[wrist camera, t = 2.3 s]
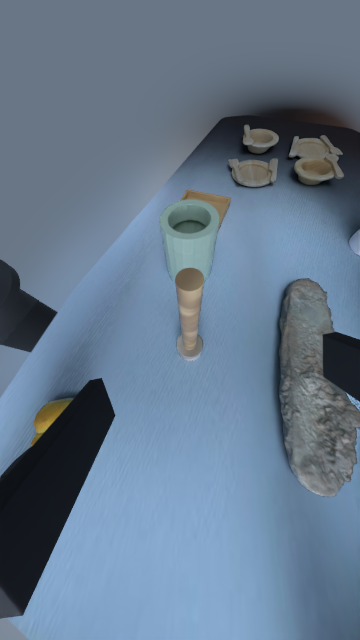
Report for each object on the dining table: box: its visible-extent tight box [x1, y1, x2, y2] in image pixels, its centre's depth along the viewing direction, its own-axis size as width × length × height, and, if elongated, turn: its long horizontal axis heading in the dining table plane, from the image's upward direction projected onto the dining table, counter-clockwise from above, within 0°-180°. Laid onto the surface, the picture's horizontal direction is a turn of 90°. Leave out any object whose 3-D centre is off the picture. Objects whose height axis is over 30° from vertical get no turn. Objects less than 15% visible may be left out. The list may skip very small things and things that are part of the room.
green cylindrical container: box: [160, 200, 219, 282], centre depth 35 cm, size 10×10×13 cm
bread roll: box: [31, 397, 75, 447], centre depth 27 cm, size 8×9×4 cm
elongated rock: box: [278, 278, 360, 497], centre depth 29 cm, size 35×5×10 cm
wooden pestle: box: [175, 268, 204, 361], centre depth 23 cm, size 5×5×22 cm
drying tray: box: [180, 190, 231, 233], centre depth 47 cm, size 13×13×2 cm
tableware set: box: [228, 125, 344, 187], centre depth 54 cm, size 35×29×4 cm
